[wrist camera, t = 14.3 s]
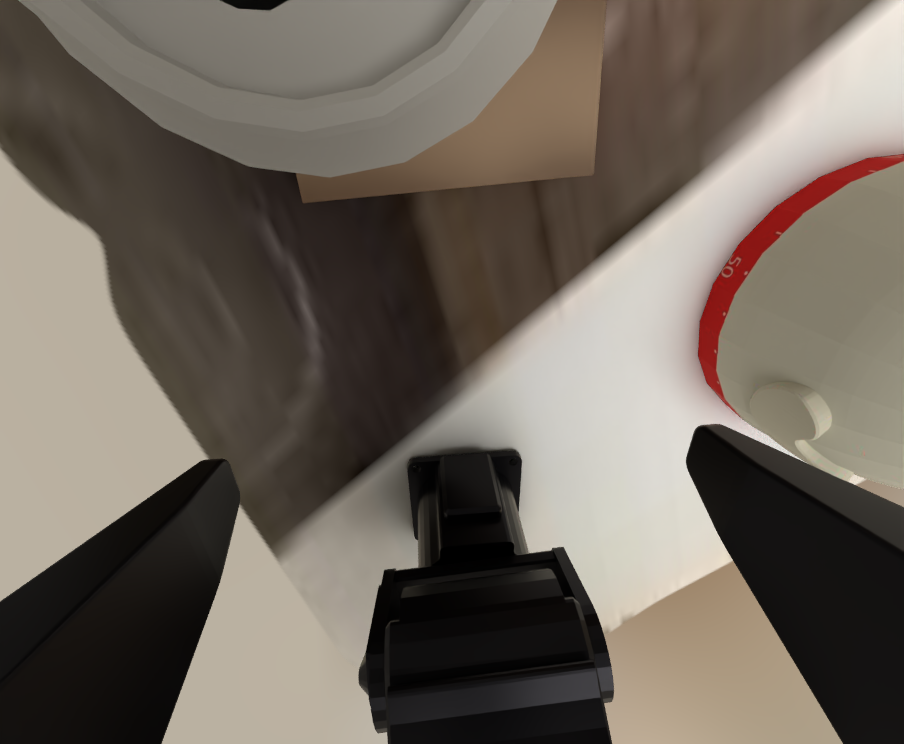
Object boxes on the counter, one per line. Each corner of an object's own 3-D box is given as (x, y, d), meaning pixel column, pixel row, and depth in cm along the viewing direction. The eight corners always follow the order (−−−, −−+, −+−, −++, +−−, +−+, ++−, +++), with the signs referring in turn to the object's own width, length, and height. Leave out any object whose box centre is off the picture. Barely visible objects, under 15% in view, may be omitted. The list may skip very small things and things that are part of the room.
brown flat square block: (572, 168, 19) (593, 175, 17) (315, 193, 19) (302, 203, 16) (593, -229, 13) (629, -296, 11) (228, -202, 13) (191, -266, 11)
